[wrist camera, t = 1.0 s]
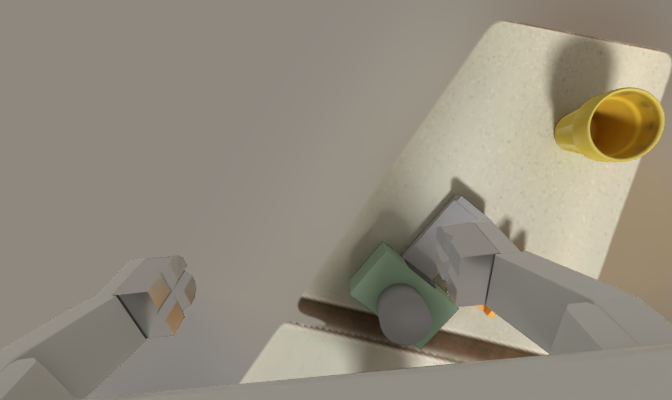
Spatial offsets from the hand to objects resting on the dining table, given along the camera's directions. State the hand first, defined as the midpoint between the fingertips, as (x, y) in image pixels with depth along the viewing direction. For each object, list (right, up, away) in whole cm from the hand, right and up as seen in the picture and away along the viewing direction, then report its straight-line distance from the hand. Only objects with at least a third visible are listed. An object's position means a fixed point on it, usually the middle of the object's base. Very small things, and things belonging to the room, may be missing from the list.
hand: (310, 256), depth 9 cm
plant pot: (+42, +14, +41) cm, 60 cm away
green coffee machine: (+18, -9, +44) cm, 49 cm away
